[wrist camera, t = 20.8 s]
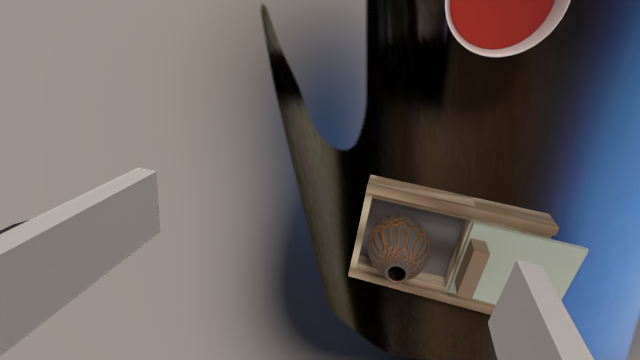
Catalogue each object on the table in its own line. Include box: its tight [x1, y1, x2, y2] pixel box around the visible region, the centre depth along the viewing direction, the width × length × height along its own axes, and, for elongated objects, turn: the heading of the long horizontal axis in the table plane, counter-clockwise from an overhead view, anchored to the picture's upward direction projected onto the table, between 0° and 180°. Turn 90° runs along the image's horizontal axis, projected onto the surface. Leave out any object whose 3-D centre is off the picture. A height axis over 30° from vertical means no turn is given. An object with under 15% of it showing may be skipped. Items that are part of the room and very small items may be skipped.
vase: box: [368, 214, 430, 284], centre depth 39 cm, size 7×7×9 cm
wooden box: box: [348, 175, 559, 315], centre depth 41 cm, size 13×20×3 cm, turn 82°
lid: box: [448, 221, 589, 305], centre depth 38 cm, size 10×11×3 cm
